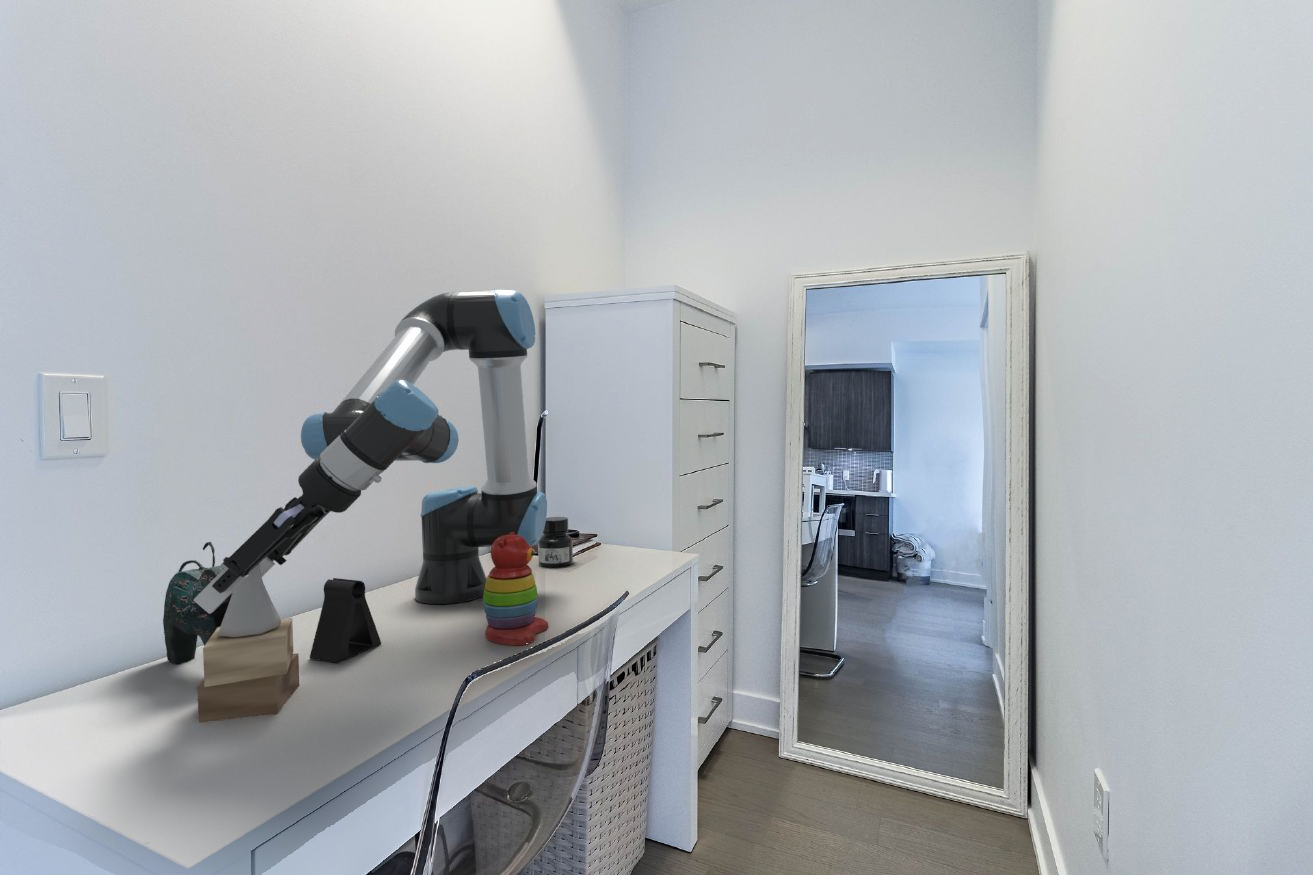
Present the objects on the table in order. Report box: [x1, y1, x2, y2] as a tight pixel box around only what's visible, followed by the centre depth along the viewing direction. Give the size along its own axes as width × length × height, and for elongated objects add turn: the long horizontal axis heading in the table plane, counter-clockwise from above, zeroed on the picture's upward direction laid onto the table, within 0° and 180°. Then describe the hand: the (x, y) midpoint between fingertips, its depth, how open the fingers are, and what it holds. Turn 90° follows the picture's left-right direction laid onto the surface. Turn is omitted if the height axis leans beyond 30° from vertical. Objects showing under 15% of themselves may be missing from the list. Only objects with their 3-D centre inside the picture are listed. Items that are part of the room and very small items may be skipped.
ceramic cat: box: [162, 541, 232, 665], centre depth 97 cm, size 20×6×20 cm, turn 59°
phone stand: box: [309, 577, 382, 664], centre depth 104 cm, size 9×6×12 cm, turn 158°
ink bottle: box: [537, 516, 574, 568], centre depth 165 cm, size 10×9×12 cm
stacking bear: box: [482, 532, 549, 646], centre depth 111 cm, size 11×10×18 cm
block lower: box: [196, 652, 301, 723], centre depth 85 cm, size 9×9×5 cm
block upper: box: [202, 617, 294, 687], centre depth 85 cm, size 9×9×5 cm
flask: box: [217, 563, 282, 637], centre depth 86 cm, size 7×7×10 cm
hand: (218, 598), depth 85 cm, fingers open, 6 cm apart
